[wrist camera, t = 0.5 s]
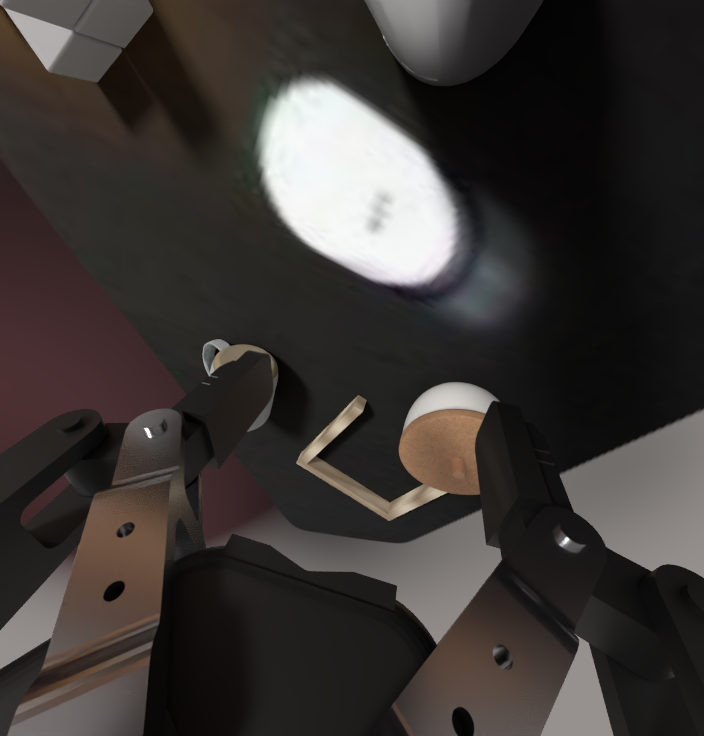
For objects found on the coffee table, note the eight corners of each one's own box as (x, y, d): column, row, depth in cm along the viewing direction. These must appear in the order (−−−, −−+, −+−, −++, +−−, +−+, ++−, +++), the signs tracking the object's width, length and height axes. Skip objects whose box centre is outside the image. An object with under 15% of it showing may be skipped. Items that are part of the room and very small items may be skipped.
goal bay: (358, 394, 36) (354, 405, 34) (467, 469, 38) (468, 482, 37) (301, 452, 46) (296, 463, 44) (391, 508, 48) (389, 520, 47)
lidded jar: (478, 448, 36) (486, 524, 29) (394, 418, 37) (381, 484, 29) (532, 385, 29) (560, 462, 22) (428, 349, 30) (422, 413, 23)
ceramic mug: (291, 356, 35) (257, 397, 29) (280, 401, 40) (250, 444, 34) (210, 320, 35) (161, 353, 29) (210, 370, 40) (167, 407, 34)
